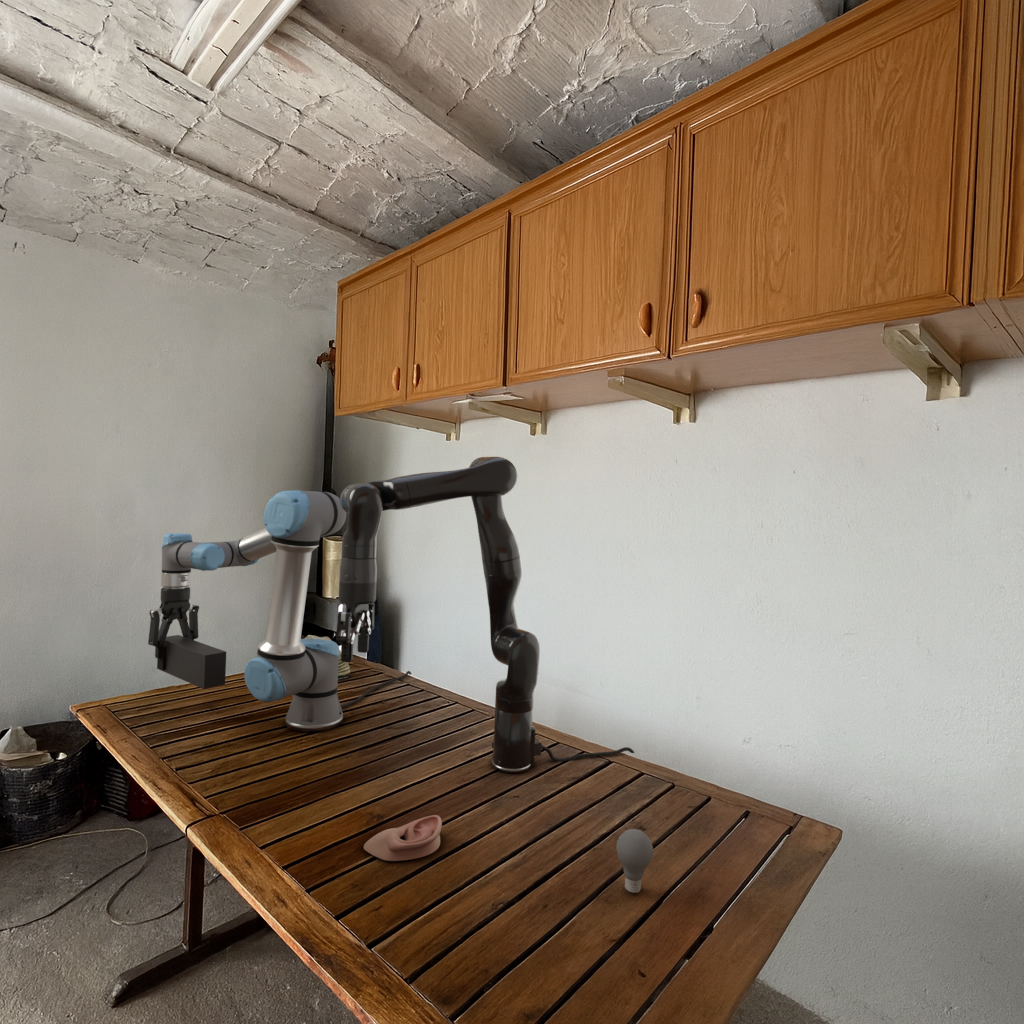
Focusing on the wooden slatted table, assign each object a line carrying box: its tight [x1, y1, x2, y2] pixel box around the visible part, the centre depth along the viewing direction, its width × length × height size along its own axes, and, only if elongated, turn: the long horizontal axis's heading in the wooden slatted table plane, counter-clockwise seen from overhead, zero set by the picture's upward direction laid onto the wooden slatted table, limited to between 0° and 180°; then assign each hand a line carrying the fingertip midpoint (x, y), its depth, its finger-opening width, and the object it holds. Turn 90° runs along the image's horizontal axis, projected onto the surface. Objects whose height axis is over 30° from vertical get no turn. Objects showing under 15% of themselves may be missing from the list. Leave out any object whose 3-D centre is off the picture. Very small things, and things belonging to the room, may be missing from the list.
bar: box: [156, 634, 227, 690], centre depth 177 cm, size 27×6×9 cm, turn 53°
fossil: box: [304, 634, 351, 680], centre depth 218 cm, size 9×18×15 cm, turn 132°
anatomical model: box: [363, 814, 443, 862], centre depth 116 cm, size 13×4×12 cm
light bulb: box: [615, 828, 654, 894], centre depth 106 cm, size 6×6×10 cm
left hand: (173, 666), depth 183 cm, fingers closed on bar, 6 cm apart
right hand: (355, 656), depth 132 cm, fingers open, 8 cm apart
